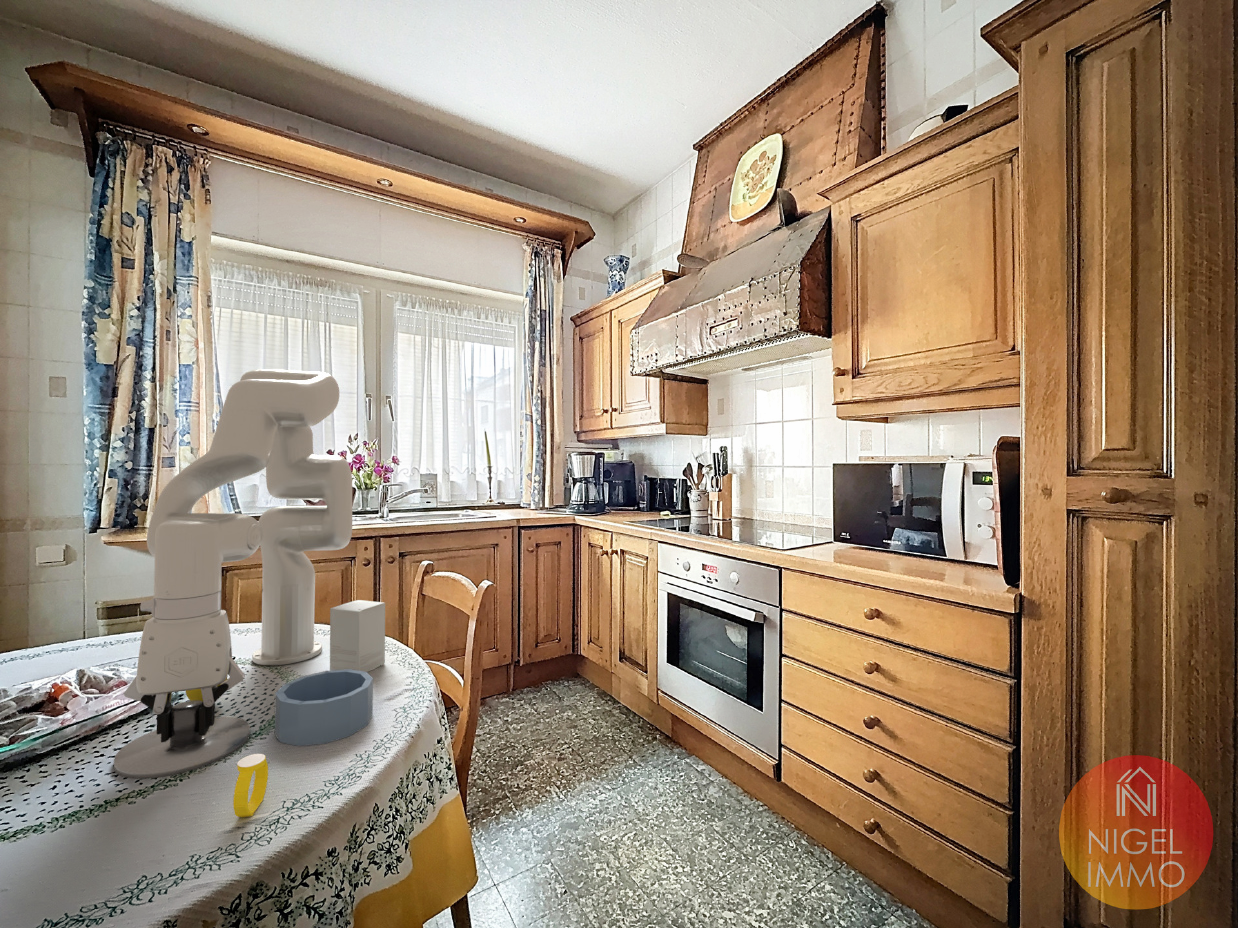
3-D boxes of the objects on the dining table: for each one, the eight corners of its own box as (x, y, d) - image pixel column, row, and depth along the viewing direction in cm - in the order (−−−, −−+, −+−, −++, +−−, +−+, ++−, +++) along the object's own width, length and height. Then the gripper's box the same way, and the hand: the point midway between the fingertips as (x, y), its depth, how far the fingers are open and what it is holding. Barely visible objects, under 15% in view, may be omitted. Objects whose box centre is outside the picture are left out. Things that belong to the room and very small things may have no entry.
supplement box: (386, 663, 110) (387, 602, 110) (357, 677, 103) (358, 611, 103) (357, 659, 112) (358, 598, 112) (327, 671, 105) (329, 607, 105)
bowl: (294, 708, 89) (295, 672, 89) (378, 702, 92) (379, 667, 92) (261, 749, 77) (261, 707, 77) (359, 740, 79) (360, 699, 79)
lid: (157, 728, 82) (157, 688, 82) (266, 719, 86) (267, 680, 86) (83, 786, 68) (84, 736, 68) (219, 772, 71) (220, 725, 71)
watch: (254, 825, 61) (253, 775, 61) (226, 828, 60) (225, 778, 60) (274, 790, 67) (274, 744, 67) (249, 793, 66) (248, 746, 66)
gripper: (100, 619, 70) (98, 760, 70) (252, 606, 77) (250, 734, 77) (123, 605, 77) (121, 734, 77) (261, 594, 84) (259, 712, 84)
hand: (186, 733), depth 77 cm, fingers closed on lid, 3 cm apart
